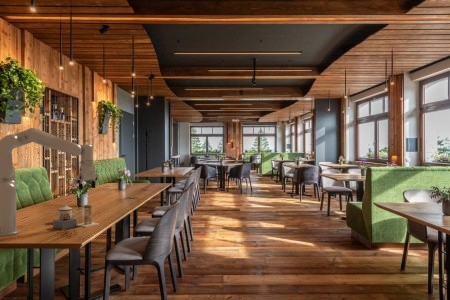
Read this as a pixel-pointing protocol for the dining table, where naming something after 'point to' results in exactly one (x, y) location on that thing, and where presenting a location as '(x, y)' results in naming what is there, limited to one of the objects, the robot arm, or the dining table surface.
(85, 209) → the peg
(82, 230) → the dining table surface
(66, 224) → the eye block
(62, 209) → the teacup with lid
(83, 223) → the tile
